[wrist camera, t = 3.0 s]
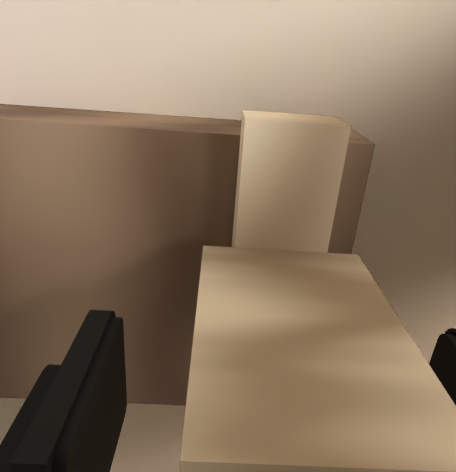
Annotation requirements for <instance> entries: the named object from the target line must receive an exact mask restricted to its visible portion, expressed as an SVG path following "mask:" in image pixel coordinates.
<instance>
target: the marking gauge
mask: <svg viewBox="0 0 456 472" xmlns="http://www.w3.org/2000/svg"><path fill="white" fill-rule="evenodd" d="M350 130H351V126H350V125H348V124H347V123H345V122H343V121H342V120H340V119H339V118H337V117H335V116H323V115H309V114H295V113H280V112H266V111H252V110H242V123H241V135H240V148H239V160H238V173H237V185H236V198H235V210H234V223H233V235H232V247H219V246H203V252H202V261H201V271H200V280H199V289H198V298H197V307H196V317H195V326H194V335H193V344H192V353H191V363H190V372H189V381H188V390H187V399H186V409H185V418H184V427H183V436H182V445H181V455H180V472H456V405H455V404H454V402H453V401H452V399H451V398H450V396H449V395H448V393H447V391H446V390H445V388H444V387H443V385H442V384H441V382H440V381H439V379H438V378H437V376H436V374H435V373H434V371H433V370H432V368H431V367H430V365H429V364H428V362H427V361H426V359H425V357H424V356H423V354H422V353H421V351H420V350H419V348H418V347H417V345H416V344H415V342H414V340H413V339H412V337H411V336H410V334H409V333H408V331H407V330H406V328H405V327H404V325H403V323H402V322H401V320H400V319H399V317H398V316H397V314H396V313H395V311H394V309H393V308H392V306H391V305H390V303H389V302H388V300H387V299H386V297H385V296H384V294H383V292H382V291H381V289H380V288H379V286H378V285H377V283H376V282H375V280H374V279H373V277H372V275H371V274H370V272H369V271H368V269H367V268H366V266H365V265H364V263H363V262H362V260H361V258H360V257H359V255H357V254H340V253H327V252H328V247H329V241H330V236H331V231H332V226H333V220H334V215H335V210H336V204H337V199H338V194H339V189H340V183H341V178H342V173H343V167H344V162H345V157H346V152H347V146H348V141H349V136H350Z"/></svg>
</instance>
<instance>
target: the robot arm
mask: <svg viewBox="0 0 456 472" xmlns="http://www.w3.org/2000/svg"><path fill="white" fill-rule="evenodd" d="M429 365H430V367H431V368H432V370H433V371H434V373H435V374H436V376H437V378H438V379H439V381H440V382H441V384H442V385H443V387H444V388H445V390H446V391H447V393H448V395H449V396H450V398H451V399H452V401H453V402H454V404H455V405H456V329H454V328H451V329H448V330H447V331H446V332H445V334H441V335H440V336H439V338H438V340H437V343H436V346H435V349H434V351H433V354H432V357H431V360H430V363H429ZM126 406H127V392H126V370H125V349H124V327H123V318H122V317H116V315H115V312H114V311H107V310H90V311H89V312H88V314H87V316H86V317H85V319H84V321H83V323H82V325H81V327H80V329H79V331H78V333H77V335H76V337H75V339H74V341H73V343H72V345H71V346H70V348H69V350H68V352H67V354H66V356H65V358H64V360H63V362H62V364H61V365H53V364H49V365H47V366H46V367H45V368H44V369H43V371H42V372H41V374H40V376H39V377H38V379H37V381H36V383H35V385H34V386H33V388H32V390H31V392H30V393H29V395H28V397H27V399H26V400H25V402H24V404H23V406H22V408H21V409H20V411H19V413H18V415H17V416H16V418H15V420H14V422H13V423H12V425H11V427H10V429H9V431H8V432H7V434H6V436H5V438H4V439H3V441H2V443H1V445H0V472H110V468H111V465H112V461H113V457H114V454H115V450H116V446H117V443H118V439H119V435H120V432H121V428H122V424H123V420H124V417H125V412H126Z"/></svg>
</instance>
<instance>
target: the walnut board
mask: <svg viewBox="0 0 456 472" xmlns="http://www.w3.org/2000/svg"><path fill="white" fill-rule="evenodd" d="M241 123H242V121H239V120H224V119H210V118H195V117H181V116H166V115H152V114H137V113H123V112H108V111H94V110H79V109H64V108H50V107H35V106H21V105H6V104H0V397H8V398H27V397H28V395H29V393H30V392H31V390H32V388H33V386H34V385H35V383H36V381H37V379H38V377H39V376H40V374H41V372H42V371H43V369H44V368H45V367H46V366H47V365H49V364H53V365H61V364H62V362H63V360H64V358H65V356H66V354H67V352H68V350H69V348H70V346H71V345H72V343H73V341H74V339H75V337H76V335H77V333H78V331H79V329H80V327H81V325H82V323H83V321H84V319H85V317H86V316H87V314H88V312H89V311H90V310H107V311H114V312H115V315H116V317H122V318H123V327H124V349H125V370H126V392H127V403H144V404H166V405H186V399H187V390H188V381H189V372H190V363H191V353H192V344H193V335H194V326H195V317H196V307H197V298H198V289H199V280H200V271H201V261H202V252H203V246H219V247H232V235H233V223H234V210H235V198H236V185H237V173H238V160H239V148H240V135H241ZM374 145H375V144H374V143H372V142H370V141H369V140H367V139H366V138H364V137H363V136H361V135H359V134H358V133H356V132H355V131H353V130H352V129H351V130H350V136H349V141H348V146H347V152H346V157H345V162H344V167H343V173H342V178H341V183H340V189H339V194H338V199H337V204H336V210H335V215H334V220H333V226H332V231H331V236H330V241H329V247H328V252H327V253H340V254H351V252H352V247H353V242H354V238H355V233H356V229H357V224H358V219H359V215H360V210H361V206H362V201H363V196H364V192H365V187H366V182H367V178H368V173H369V169H370V164H371V159H372V155H373V150H374Z"/></svg>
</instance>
